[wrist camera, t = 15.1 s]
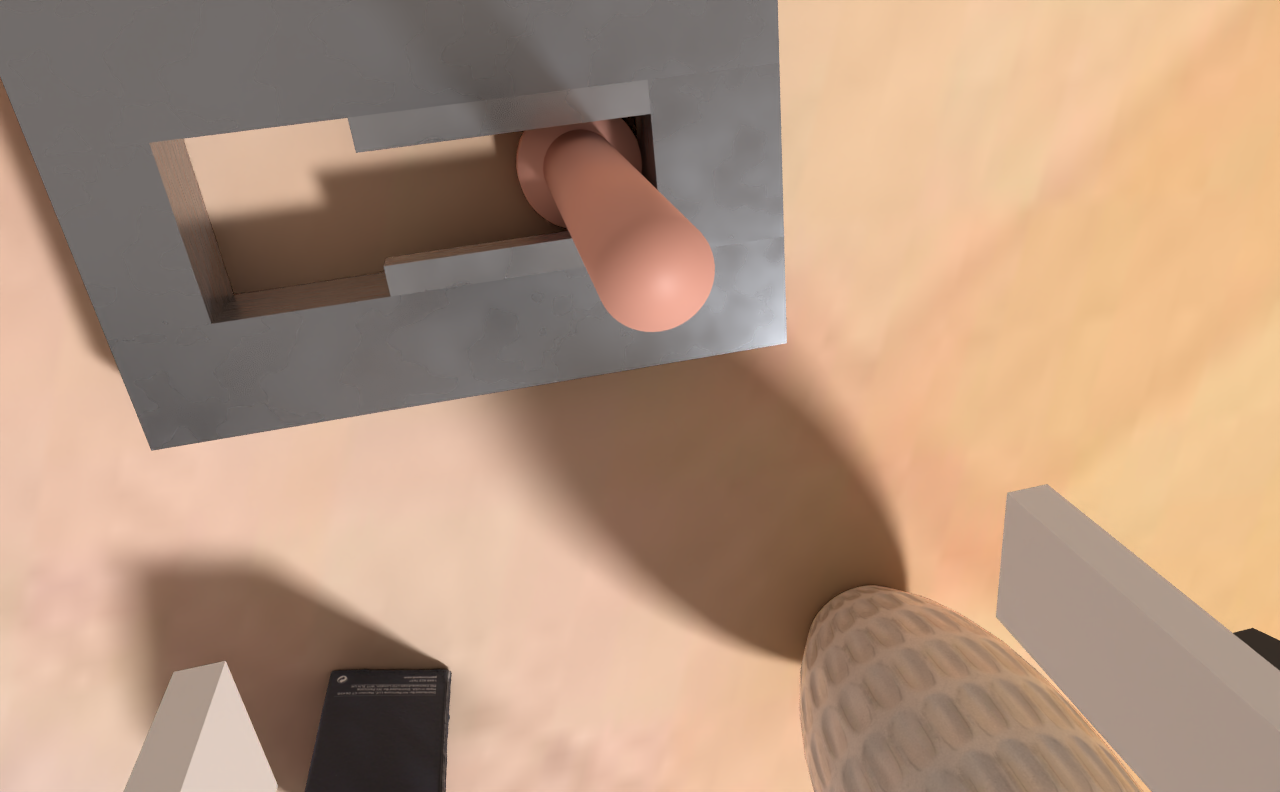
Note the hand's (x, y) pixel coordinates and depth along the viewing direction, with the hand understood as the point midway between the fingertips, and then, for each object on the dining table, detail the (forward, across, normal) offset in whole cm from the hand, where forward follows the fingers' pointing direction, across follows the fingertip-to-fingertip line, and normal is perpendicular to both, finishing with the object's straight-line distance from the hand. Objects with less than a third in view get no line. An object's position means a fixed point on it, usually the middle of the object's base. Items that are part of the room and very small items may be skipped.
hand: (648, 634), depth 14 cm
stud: (+25, +3, +4) cm, 25 cm away
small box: (+26, -12, -26) cm, 38 cm away
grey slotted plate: (+25, -3, +4) cm, 25 cm away
